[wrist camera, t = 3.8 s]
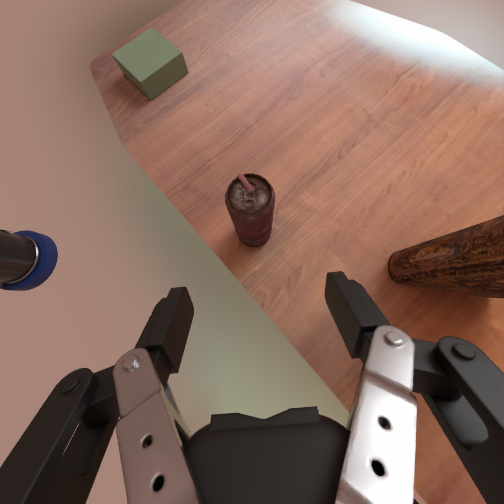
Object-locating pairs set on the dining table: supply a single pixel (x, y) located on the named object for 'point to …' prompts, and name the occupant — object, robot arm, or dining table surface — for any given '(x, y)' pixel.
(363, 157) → the dining table surface
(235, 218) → the can
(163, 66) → the plate
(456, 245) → the book
